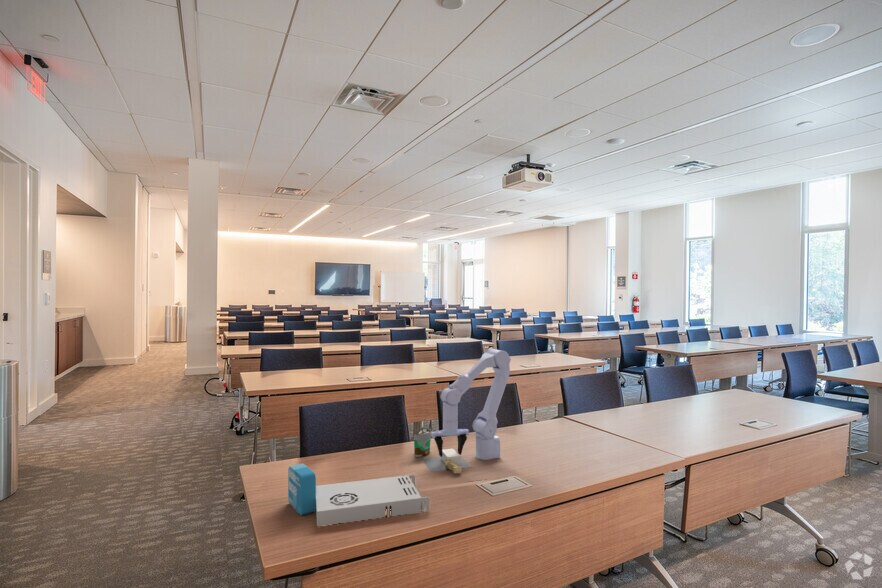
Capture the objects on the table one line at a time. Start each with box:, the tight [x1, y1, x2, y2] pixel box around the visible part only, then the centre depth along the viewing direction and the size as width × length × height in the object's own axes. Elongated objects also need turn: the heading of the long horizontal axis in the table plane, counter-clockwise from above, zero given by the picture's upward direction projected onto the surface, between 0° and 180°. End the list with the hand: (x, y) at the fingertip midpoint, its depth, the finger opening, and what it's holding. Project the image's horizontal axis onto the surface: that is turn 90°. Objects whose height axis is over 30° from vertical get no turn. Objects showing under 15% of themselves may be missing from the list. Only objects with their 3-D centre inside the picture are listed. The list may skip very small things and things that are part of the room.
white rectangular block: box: [441, 448, 461, 466], centre depth 179 cm, size 5×9×4 cm, turn 16°
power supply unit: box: [315, 474, 430, 527], centre depth 145 cm, size 19×33×5 cm, turn 107°
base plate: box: [421, 455, 472, 473], centre depth 178 cm, size 16×14×1 cm
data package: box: [287, 463, 317, 516], centre depth 143 cm, size 12×4×12 cm, turn 37°
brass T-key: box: [445, 459, 463, 474], centre depth 170 cm, size 8×3×3 cm, turn 31°
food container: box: [413, 426, 433, 458], centre depth 190 cm, size 12×6×10 cm, turn 168°
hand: (450, 454), depth 179 cm, fingers open, 7 cm apart
